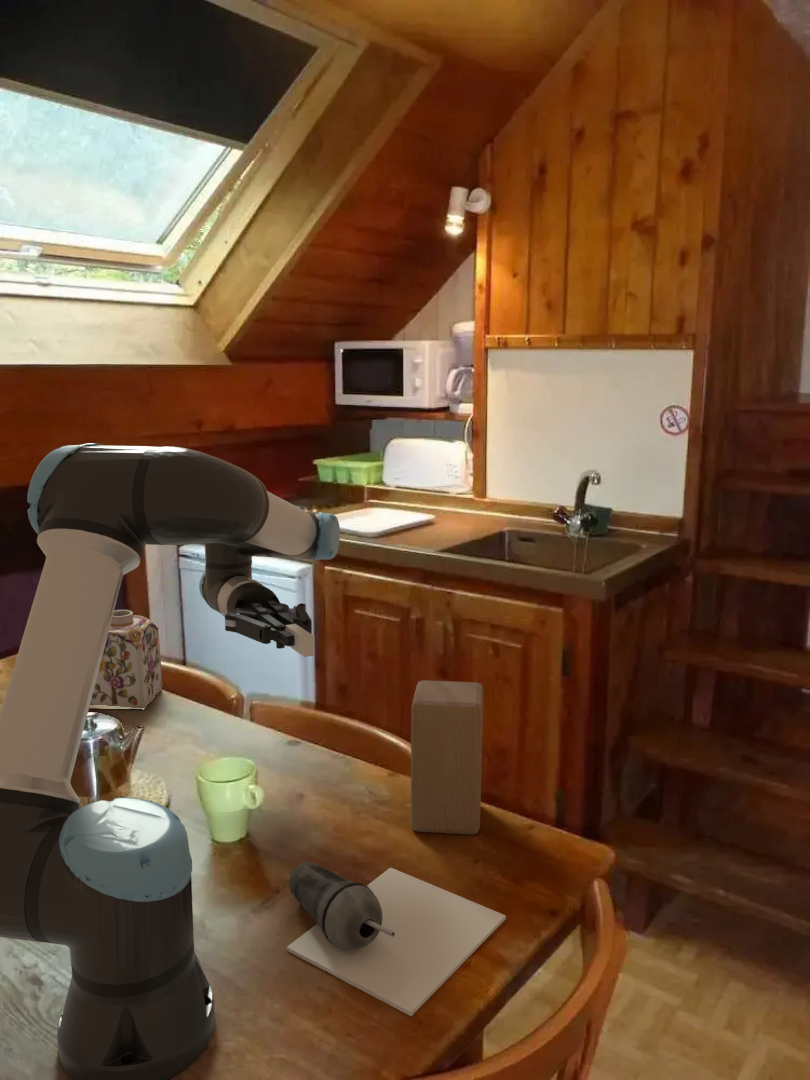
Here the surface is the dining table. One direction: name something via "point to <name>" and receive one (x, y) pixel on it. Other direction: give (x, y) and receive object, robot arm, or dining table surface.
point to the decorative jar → (129, 663)
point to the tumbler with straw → (338, 906)
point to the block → (446, 757)
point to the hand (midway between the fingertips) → (309, 646)
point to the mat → (406, 942)
